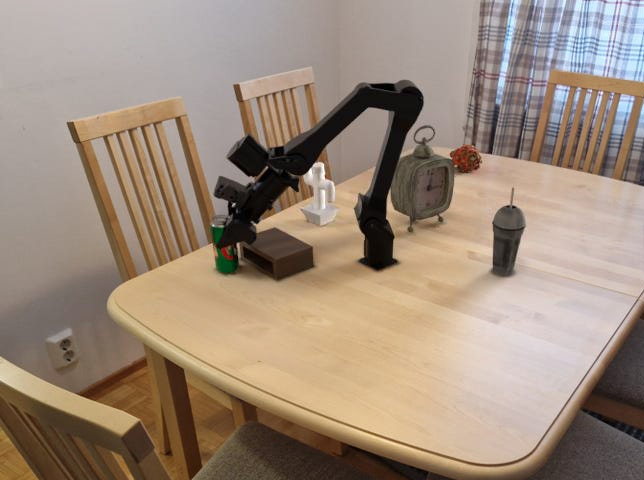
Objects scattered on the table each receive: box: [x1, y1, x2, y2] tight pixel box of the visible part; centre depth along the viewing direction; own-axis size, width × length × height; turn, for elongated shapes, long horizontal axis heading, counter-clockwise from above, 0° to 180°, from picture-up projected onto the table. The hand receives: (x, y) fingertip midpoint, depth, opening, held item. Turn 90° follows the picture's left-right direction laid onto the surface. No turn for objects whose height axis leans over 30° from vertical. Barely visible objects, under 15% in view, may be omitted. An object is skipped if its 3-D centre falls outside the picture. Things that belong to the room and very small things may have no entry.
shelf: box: [238, 226, 315, 281], centre depth 145 cm, size 14×10×5 cm
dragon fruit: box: [449, 144, 483, 173], centre depth 201 cm, size 8×8×12 cm
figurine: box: [299, 161, 341, 227], centre depth 162 cm, size 7×9×15 cm
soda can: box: [209, 214, 240, 275], centre depth 139 cm, size 5×5×12 cm
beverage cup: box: [491, 187, 527, 277], centre depth 141 cm, size 7×7×20 cm
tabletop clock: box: [389, 124, 455, 234], centre depth 160 cm, size 14×9×25 cm, turn 131°
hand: (217, 242), depth 139 cm, fingers closed on soda can, 5 cm apart
